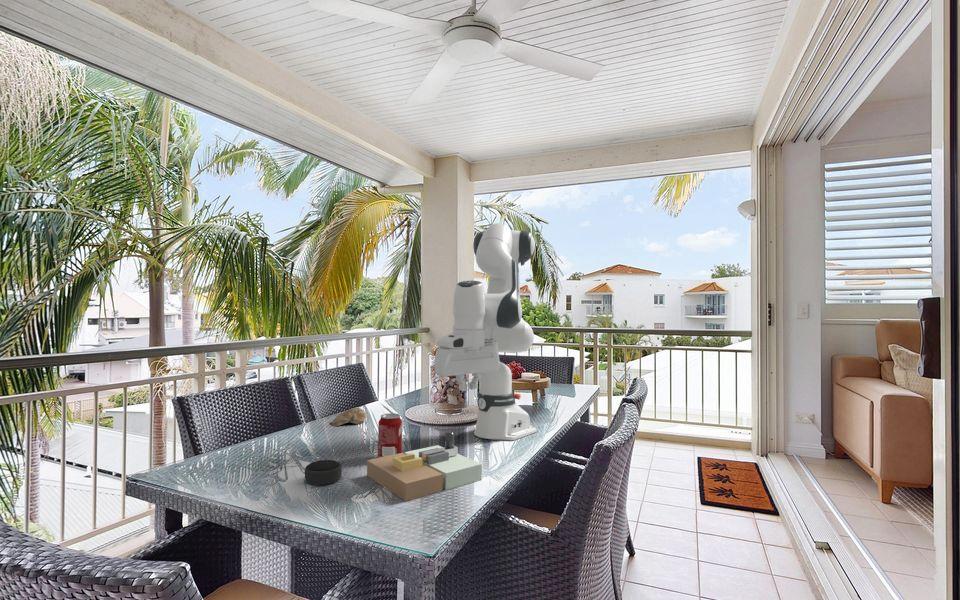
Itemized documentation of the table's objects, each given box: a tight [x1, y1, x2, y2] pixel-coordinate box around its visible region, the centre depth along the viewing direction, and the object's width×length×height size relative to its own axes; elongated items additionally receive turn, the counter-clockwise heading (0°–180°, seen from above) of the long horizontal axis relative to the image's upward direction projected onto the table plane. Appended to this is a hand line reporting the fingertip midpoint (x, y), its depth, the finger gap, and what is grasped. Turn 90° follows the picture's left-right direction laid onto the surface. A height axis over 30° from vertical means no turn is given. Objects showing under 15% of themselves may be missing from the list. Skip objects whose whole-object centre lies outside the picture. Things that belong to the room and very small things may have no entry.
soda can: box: [377, 412, 403, 458], centre depth 141 cm, size 7×7×12 cm
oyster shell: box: [331, 407, 368, 427], centre depth 180 cm, size 10×12×5 cm
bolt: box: [422, 430, 459, 462], centre depth 128 cm, size 10×2×6 cm, turn 129°
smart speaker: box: [304, 459, 343, 486], centre depth 123 cm, size 9×9×4 cm
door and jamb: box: [366, 444, 483, 502], centre depth 125 cm, size 22×20×6 cm
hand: (468, 389), depth 134 cm, fingers closed
